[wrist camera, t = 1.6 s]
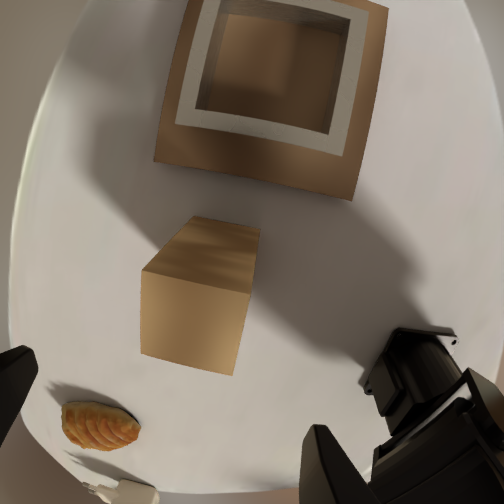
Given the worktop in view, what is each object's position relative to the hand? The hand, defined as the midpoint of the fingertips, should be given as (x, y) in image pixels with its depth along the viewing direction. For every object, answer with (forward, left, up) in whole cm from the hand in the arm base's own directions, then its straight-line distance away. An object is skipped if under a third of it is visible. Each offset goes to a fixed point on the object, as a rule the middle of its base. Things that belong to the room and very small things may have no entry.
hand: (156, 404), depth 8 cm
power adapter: (+10, +39, -12) cm, 42 cm away
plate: (-1, -11, -12) cm, 16 cm away
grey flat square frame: (-1, -11, -11) cm, 15 cm away
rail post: (0, 0, -12) cm, 12 cm away
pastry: (+10, +21, -12) cm, 27 cm away
